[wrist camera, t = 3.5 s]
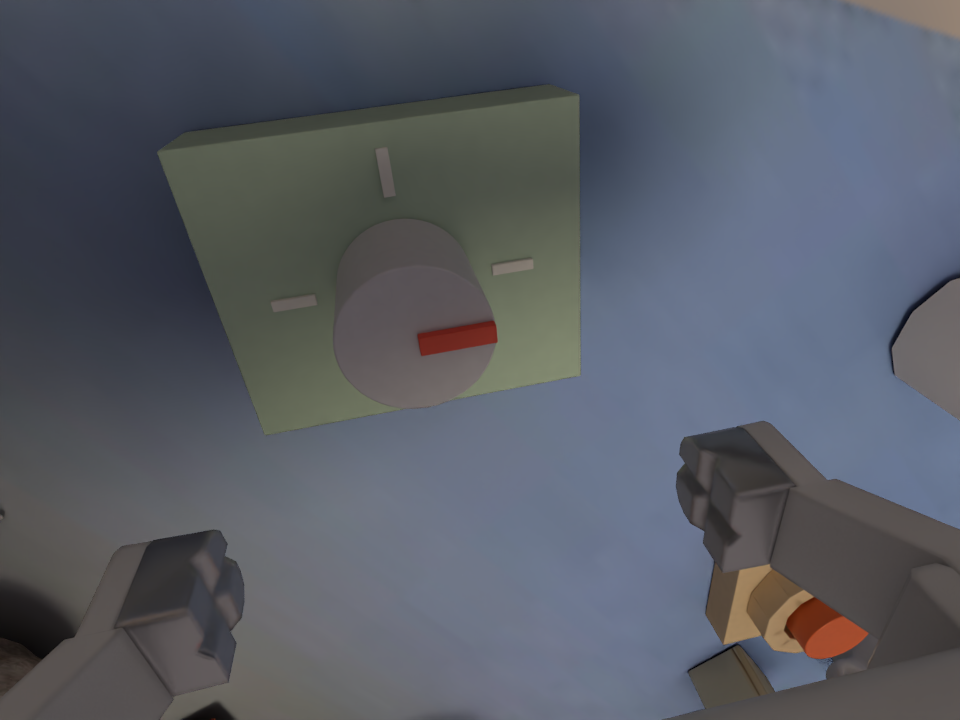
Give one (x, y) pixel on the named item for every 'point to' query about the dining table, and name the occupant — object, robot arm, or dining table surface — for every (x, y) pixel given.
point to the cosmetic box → (729, 679)
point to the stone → (14, 664)
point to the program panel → (372, 200)
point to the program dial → (410, 316)
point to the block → (754, 606)
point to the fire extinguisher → (933, 349)
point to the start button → (823, 630)
